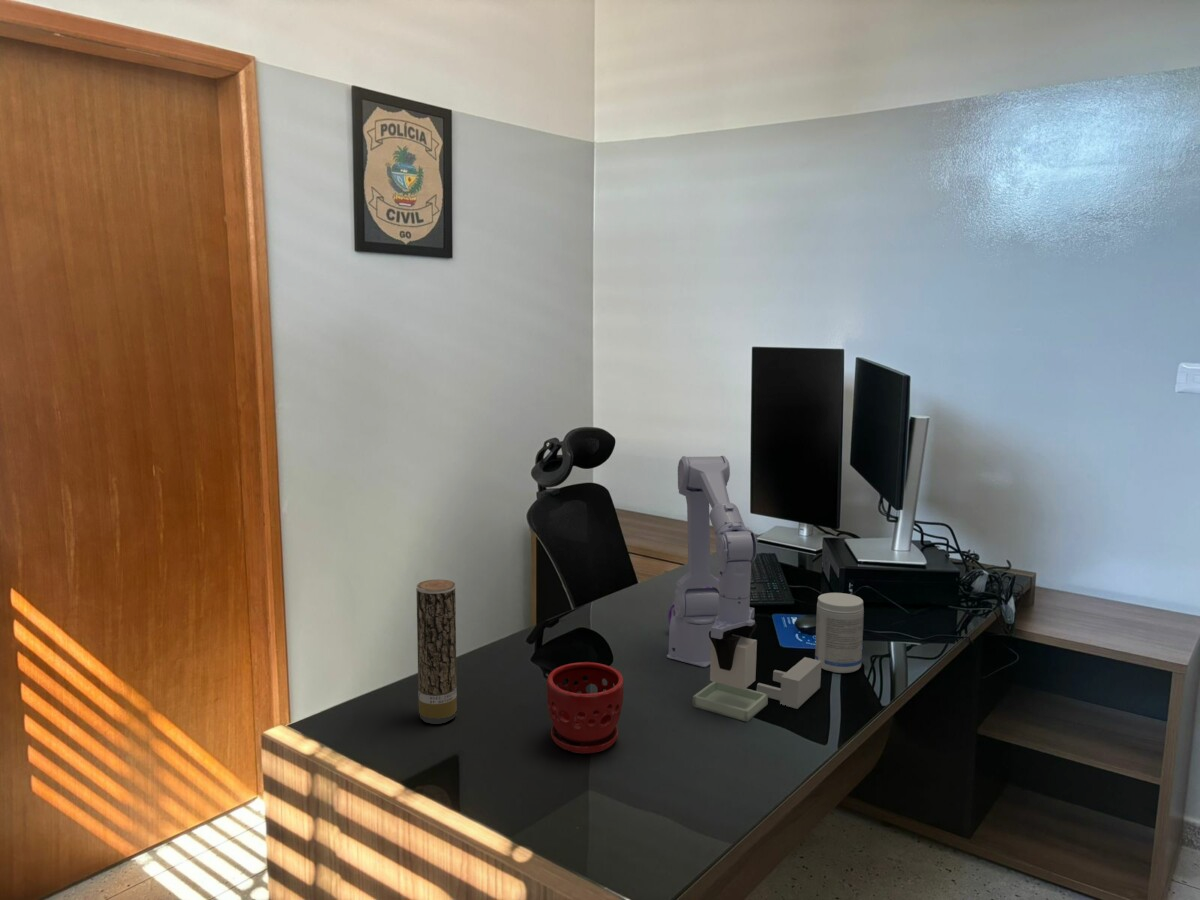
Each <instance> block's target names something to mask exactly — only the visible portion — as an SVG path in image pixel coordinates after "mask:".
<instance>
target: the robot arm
mask: <svg viewBox="0 0 1200 900" xmlns="http://www.w3.org/2000/svg"><path fill="white" fill-rule="evenodd" d="M730 467H731V466H730V462H729V460H728V459H727V457H726V456H725V455H720V456H685V455H684V456H683V455H682V456H681V458H680V459H679V461H678V464H677V489H678V494H679V495H682V496H684V497H685V502H686V505H687V506H686V514H687V516H686V517H687V518H686V519H687V522H686V523H687V564H688V565H687V566H688V567H687V570H688V571H687V573H685V574H684V575H682V577H680V578H679V579H678V580H677V581H675V582H676V583H675V589H674V590H675V592H674V595H673V596H674V598H673V603H674V607H675V612H676V615H675V616H674V617H673V618H672V620H671V623H670V625H669V628H668V654H666V658H667V659H671V660H675V661H679V662H683V663H686V664H690V665H694V666H697V667H701V668H706V667H708V666H710V662H711V649H710V647H711V641H712V643H713V645H714V648H715V651H716V654H717V659H718V663H719V667H720V669H724V670H728V671H730V670H731V668H732V664H733V658H734V652H735V648H736V645H737V643H738V641H739V639H740V637H738V636H741V637H746V638H750V639H752V636H753V634H754V632H755V630H756V629H757V627H758V626H757V625H758V624H757V623H756V621H755V609H756V608H755V607H751V606H750V604H751V599H750V598H751V577H752V562H754V561H755V560H756V558H757V555H758V554H757V552H758V544H757V538H756V534H755V532H754V531H753V530H752V529H750V528H749V527H747V526H745V523H744V521H743V518H742V515H741V513H740V511H739V508H738V507H737V505H736V504H735V503H733V502H731V501H730V496H729V492H728V489H727V486H728V482H729V481H730V475H731V469H730ZM710 507H711V509H710ZM710 523H711V524H710ZM710 525H711V526H712V528H713V532H714V535H715V537H716V541H715V550H716V556H717V557H716V558H717V559H716V560H717V564H716V565H717V569H718V570H719V577H716V576H715V575H713V574H712V573H711V531H710V530H711V528H710V527H711V526H710ZM717 578H719V579H717ZM702 587H712V588H702ZM732 634H733V635H732ZM734 635H737V636H734Z"/></svg>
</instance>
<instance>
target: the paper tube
mask: <svg viewBox="0 0 1200 900" xmlns="http://www.w3.org/2000/svg"><path fill="white" fill-rule="evenodd" d="M415 591H416V629H417V630H416V632H417V634H416V635H417V636H416V637H417V683H418V684H417V686H418V689H417V690H418V691H417V693H418V696H417V697H418V698H417V699H418V714H419V713H420V715H422V716H424V717H428V718H436V719H438V718H439V719H440V718H446V717H450V716H452V715H453V714H455V712H456V711H458V708H457V701H458V700H457V696H458V694H457V693H458V691H457V688H458V687H457V622H456V620H457V619H456V618H457V611H456V610H457V609H456V608H457V607H456V603H457V602H456V599H457V597H456V583H455V582H454V581H453V580H449V579H428V580H427V579H426V580H423V581H420V582H419V583H417V585H416V590H415Z"/></svg>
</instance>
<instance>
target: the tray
mask: <svg viewBox="0 0 1200 900" xmlns="http://www.w3.org/2000/svg"><path fill="white" fill-rule="evenodd" d="M768 700H769V698H768V694H765V693H761V692H758V691H757V690H753V689H749V688H746V689H745V690H743V689H739V688H735V687H732V686H728V685H724V684H720V683H717V682H713V681H711V683H709V684H707V686H705V687H704V688H702V689H701V690H700V691H698V692H697V693H696V694H694V695H692V707H694V708H697V709H700V710H704V711H707V712H710V713H715V714H718V715H721V716H725V717H728V718H732V719H735V720H739V721H743V722H746V723H748V722H749V721H750V720H752V719H753V718H754V717H755V716H756V715H757V714H759V712H761V711H762V710H763V709H765V707H766V706H768V703H769V701H768Z"/></svg>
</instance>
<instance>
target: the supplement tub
mask: <svg viewBox="0 0 1200 900" xmlns="http://www.w3.org/2000/svg"><path fill="white" fill-rule="evenodd" d="M864 607H865V606H864V600H863V599H862V598H861V597H860V596H857V595H855V594H849V593H845V592H844V593H843V592H827V593H822V594H820V595H818V597H817V603H816V616H815V618H816V619H815V621H816V622H815V624H816V625H815V647H814V648H815V651H814V659H815V660H819V661H822V662H821V670H822V669H823V670H825V671H828V672H831V673H835V674H836V673H838V674H849V673H854V672H856V671H858V670H859V669H860V668H861V667H862V660H863V636H864V619H865V618H864V617H865V614H864V613H865V611H864V610H865V609H864Z"/></svg>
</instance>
